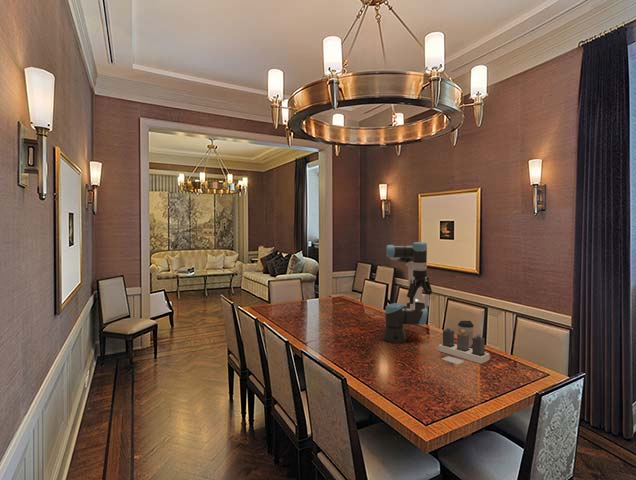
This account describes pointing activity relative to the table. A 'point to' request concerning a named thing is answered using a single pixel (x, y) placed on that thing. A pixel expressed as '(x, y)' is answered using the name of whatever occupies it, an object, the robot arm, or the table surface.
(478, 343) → the strip
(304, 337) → the table surface
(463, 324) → the coffee cup
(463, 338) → the plug
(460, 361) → the mat
